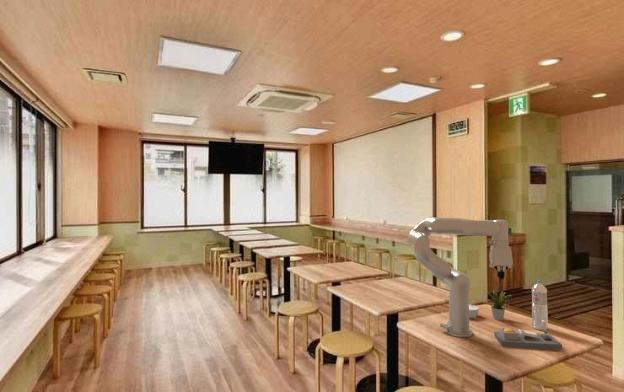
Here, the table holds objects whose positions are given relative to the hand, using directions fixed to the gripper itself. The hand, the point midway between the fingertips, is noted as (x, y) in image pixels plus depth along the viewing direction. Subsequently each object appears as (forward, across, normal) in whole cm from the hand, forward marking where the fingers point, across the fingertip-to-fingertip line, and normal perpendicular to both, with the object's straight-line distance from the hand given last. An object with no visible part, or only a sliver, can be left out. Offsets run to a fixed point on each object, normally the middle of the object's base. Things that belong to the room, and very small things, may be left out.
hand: (500, 278), depth 182 cm
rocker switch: (+23, +7, -14) cm, 28 cm away
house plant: (+27, +3, +17) cm, 32 cm away
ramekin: (+27, -12, +21) cm, 37 cm away
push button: (+24, -1, -14) cm, 28 cm away
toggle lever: (+23, +15, -14) cm, 31 cm away
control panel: (+27, +6, -14) cm, 31 cm away
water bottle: (+27, +20, +6) cm, 34 cm away
